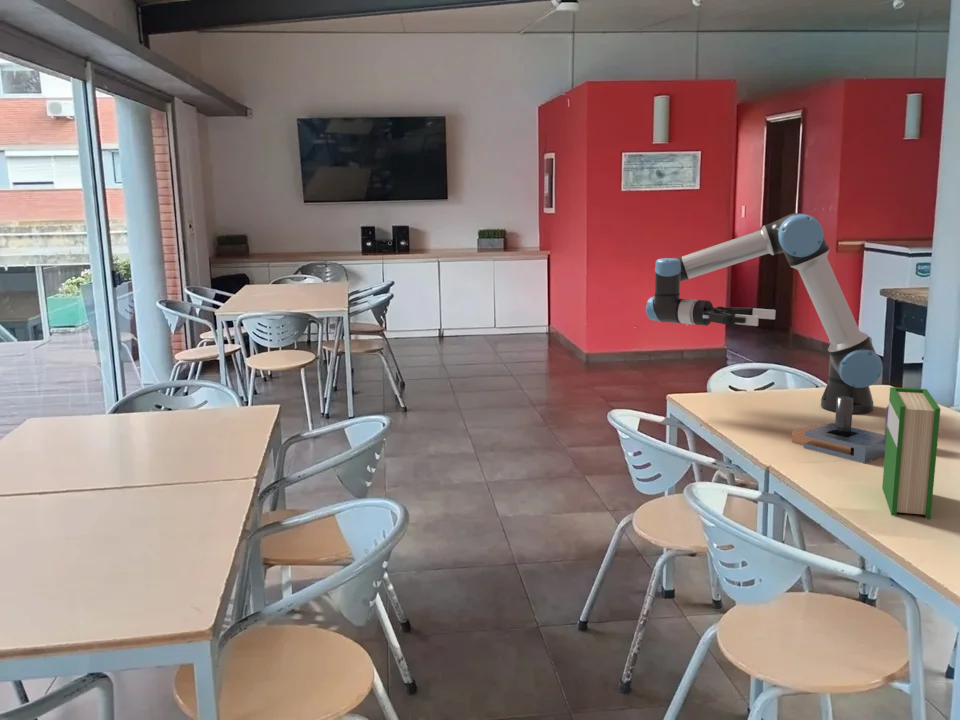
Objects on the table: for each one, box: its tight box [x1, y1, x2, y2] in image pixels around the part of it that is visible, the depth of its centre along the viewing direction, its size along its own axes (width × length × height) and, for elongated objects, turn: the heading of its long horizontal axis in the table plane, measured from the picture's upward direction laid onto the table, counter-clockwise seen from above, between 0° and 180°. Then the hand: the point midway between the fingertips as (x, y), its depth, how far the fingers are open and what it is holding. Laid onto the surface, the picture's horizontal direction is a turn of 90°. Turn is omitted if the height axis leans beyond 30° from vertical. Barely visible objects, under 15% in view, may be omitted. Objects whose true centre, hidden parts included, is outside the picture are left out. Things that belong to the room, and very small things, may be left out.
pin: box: [834, 396, 853, 437], centre depth 224 cm, size 4×4×14 cm
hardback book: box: [881, 386, 941, 520], centre depth 185 cm, size 18×7×24 cm, turn 161°
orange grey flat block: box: [791, 422, 886, 464], centre depth 226 cm, size 22×13×4 cm, turn 37°
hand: (766, 317), depth 242 cm, fingers open, 13 cm apart
